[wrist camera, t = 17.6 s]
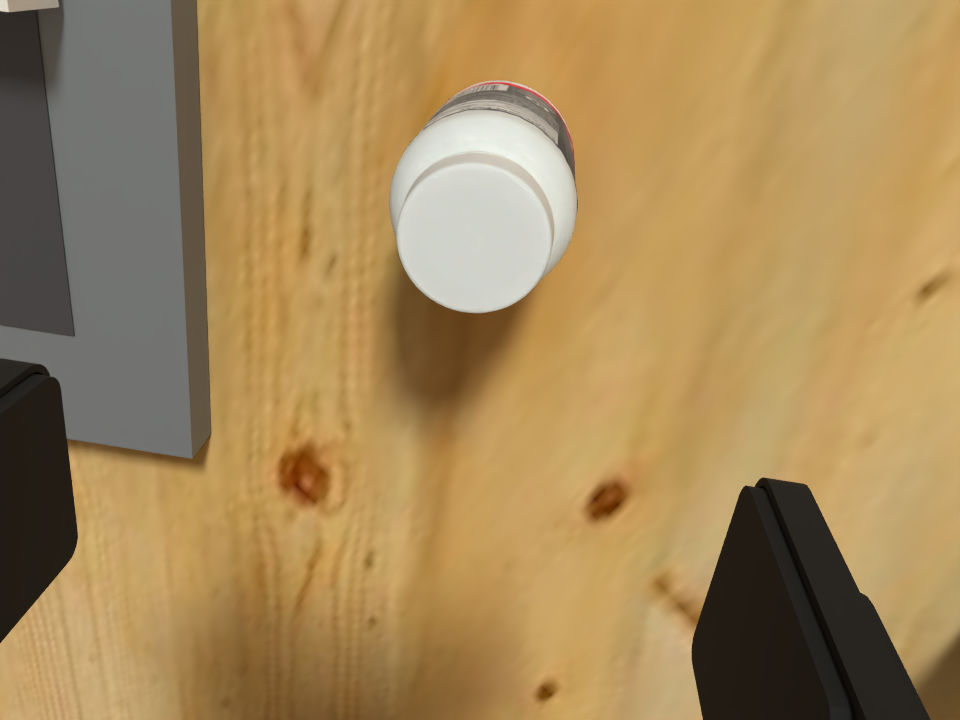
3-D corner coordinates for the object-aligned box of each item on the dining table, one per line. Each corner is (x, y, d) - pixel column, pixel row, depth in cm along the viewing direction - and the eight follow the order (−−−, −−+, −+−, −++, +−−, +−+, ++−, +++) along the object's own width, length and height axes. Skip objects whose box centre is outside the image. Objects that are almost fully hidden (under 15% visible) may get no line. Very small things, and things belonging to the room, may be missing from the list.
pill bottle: (549, 245, 30) (542, 362, 22) (411, 206, 30) (348, 308, 21) (595, 102, 28) (608, 168, 19) (444, 58, 28) (389, 105, 19)
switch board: (211, 433, 35) (191, 459, 34) (-53, 391, 36) (-87, 415, 34) (182, -400, 23) (148, -432, 21) (-227, -453, 23) (-296, -489, 21)
